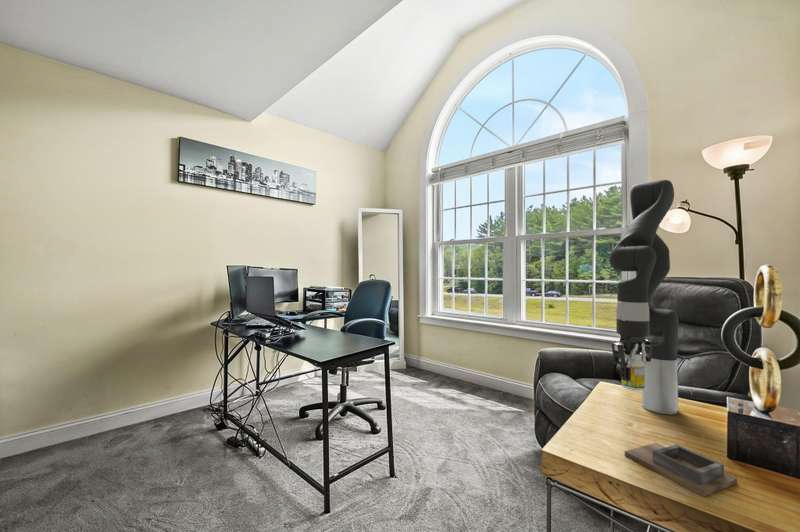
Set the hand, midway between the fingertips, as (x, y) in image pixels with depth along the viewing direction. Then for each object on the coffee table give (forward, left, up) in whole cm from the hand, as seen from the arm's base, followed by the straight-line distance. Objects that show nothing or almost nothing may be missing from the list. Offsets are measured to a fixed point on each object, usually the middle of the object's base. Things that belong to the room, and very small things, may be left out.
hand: (632, 378), depth 92 cm
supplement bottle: (0, 0, -3) cm, 3 cm away
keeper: (+6, +14, -16) cm, 22 cm away
